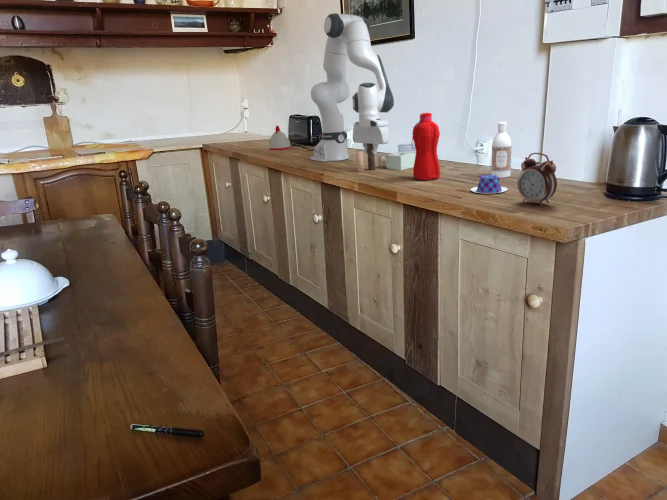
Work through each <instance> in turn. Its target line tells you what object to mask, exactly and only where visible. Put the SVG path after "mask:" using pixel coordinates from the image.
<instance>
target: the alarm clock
mask: <svg viewBox="0 0 667 500" xmlns="http://www.w3.org/2000/svg"><path fill="white" fill-rule="evenodd" d="M533 155H541V156H544V157H545V158H546V160H545V161H543V162H541V163H540V161H536V160H535V159H534V158H530V157H531V156H533ZM553 162H554V160H550V158H549V156H548V155H547V154H545V153H541V152H533V153H530V154H529V155H528V156H525V158H524V160H523V161H522V163H521V164H520V165H521V166H520V167H521V172H520V173H519V176H518V178H517V189H518V192H519V194H520V196H521V197H522V198H523V201H522V203H523V204H524V203H525V201H527V202H529V203H540V205H541V207H544V204H543V202H545V201H546V202H547V204H549V203H550V202H549V199H550V198H551V197H553V196H554V195H555V193H556V191H557V188H558V180H557V176H556V174H555V173H556V170H557V166H556V164H555V163H553Z"/></svg>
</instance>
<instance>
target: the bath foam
mask: <svg viewBox="0 0 667 500" xmlns="http://www.w3.org/2000/svg"><path fill="white" fill-rule="evenodd" d="M512 147H513V146H512V140H511V137H510V136H509V134H508V133H507V121H500V122H498V123H497V133H496V135H495V137H494V138H493V140H492V144H491V167H490V168H491V170H490V171H491V173H490V175H496V176H498V177H499V179H503V178H504V179H505V178H510V176H511V169H512Z"/></svg>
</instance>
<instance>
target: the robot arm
mask: <svg viewBox="0 0 667 500" xmlns="http://www.w3.org/2000/svg"><path fill="white" fill-rule="evenodd" d="M323 27H324V28H323V29H324V32H325V34H326V36H327V39H326V43H325V48H324V49H325V50H324V55H323V56H324V57H323V65H322V68H323V70H324V72H325V74H326V81H321V82H319V83H317V84H314V85H313V86H312V88H311V89H310V98H311V100H312V101H313V103H314V104H315V105H316V106H317V108H318V111H319V113H320V117H321V125H322V133H319V134H320V135H319V136H320V141H319V142H318V143H317V144H316V145H315V147H314V150H313V151H314V152H313V153H314V155H313V156H310V158H309V160H313V161H317V162H321V163H322V162H337V161H344V160H348V159H349V158H350V157H351V155H350V154H349V150H348V145H347V141H346V130H345V123H344V122H345V121H344V115H343V113H341V112H340V109H339V107H338V104H341V103H343V102H345V101H346V100H347V99H349V97H350V94H351V89H350V86H349V84H348V83H347V77H346V67H347V66H346V65H347V61H348V60H349V61H350V62H351V63H352V64H353V65H354V66H356V67H359V68H362V69H366V70H369V71H370V72H372V73H373V74H374V76H375V79H376V81H377V84H376V83H374V82H363V83H360V84H359V85H358V91H357V92H355V93H353V95H352V110H353V111H354V112H356V113H358V118H359V119H358V121H355V123H354V124H353V128H352V142H353V143H354V144H356V143H357V144H362V147H363V149H364V154H367V143H368V144H373V146H374V147H373V150H372V154H374V155H376V154H377V153H378V149H379V148H378V147H379V145H386V144H389V141H390V134H389V133H390V132H389V127H388V126H389V125H388V124H389V122H388V120H387V119H385V118H383V117H381V116H380V113H389V112H390V111H391V110H392V109H393V107H394V105H395V98H394V95H393V92H392V90H391V88H390V84H389V80H388V78H387V74H386V71H385V67H384V65H383V61H382V59H381V57H380V55H379V54H377V53H376V52H375V51H374V49H373V48H372V44H371V42H372V41H371V37H370V31H371V24H370V21H369V19H368V18H366V17H364V16H361V15H360V16H358V15H356V14H351V13H350V14H349V13H348V14H346V13H344V14H343V13H335V12H334V13H330V14H328V15H327V17H326V18H325V19H324V26H323ZM347 59H348V60H347ZM377 85H378V88H379V89H378V88H377Z"/></svg>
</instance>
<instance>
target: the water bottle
mask: <svg viewBox="0 0 667 500" xmlns="http://www.w3.org/2000/svg"><path fill="white" fill-rule="evenodd" d="M432 117H433V115H432V113H431V112H423V113H420V114H419V121H418V122H417V123H416V124H414V126H413V128H412V132H411V133H412V139H411V143H413V144H415V149H416V157H415V162H414V167H412V168H413V171H412V172H413V174H412V175H413V177H414V179H415V180H420V181H421V182H423V181H431V180H437V179H439V178H440V176H441V167H440V163H439V157H438V151H437V150H438V143H439V139H440V135H441V134H440V127H439V125H438V124H437V122H434V121H433V120H432ZM412 149H413V147H412ZM413 150H414V149H413Z"/></svg>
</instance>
